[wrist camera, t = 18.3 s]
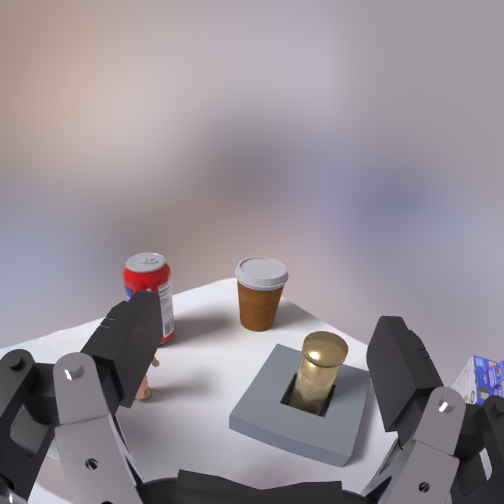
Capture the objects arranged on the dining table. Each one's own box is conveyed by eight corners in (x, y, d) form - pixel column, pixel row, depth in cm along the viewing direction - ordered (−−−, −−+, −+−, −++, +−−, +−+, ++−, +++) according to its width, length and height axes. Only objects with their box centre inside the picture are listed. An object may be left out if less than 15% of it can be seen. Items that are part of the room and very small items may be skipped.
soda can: (175, 348, 48) (169, 272, 41) (131, 349, 46) (116, 273, 40) (175, 321, 55) (170, 249, 48) (135, 321, 53) (125, 250, 47)
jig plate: (229, 427, 34) (229, 414, 33) (274, 358, 48) (277, 343, 46) (341, 467, 28) (350, 456, 27) (364, 386, 42) (371, 371, 40)
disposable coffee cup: (226, 310, 59) (228, 257, 54) (269, 304, 62) (276, 253, 58) (240, 341, 51) (245, 283, 46) (288, 332, 54) (298, 277, 49)
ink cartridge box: (458, 458, 26) (516, 395, 20) (429, 452, 28) (485, 388, 22) (461, 412, 34) (505, 348, 28) (435, 406, 36) (477, 340, 30)
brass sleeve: (280, 416, 37) (297, 353, 31) (293, 390, 41) (310, 326, 36) (316, 428, 35) (343, 367, 29) (326, 401, 39) (351, 338, 34)
